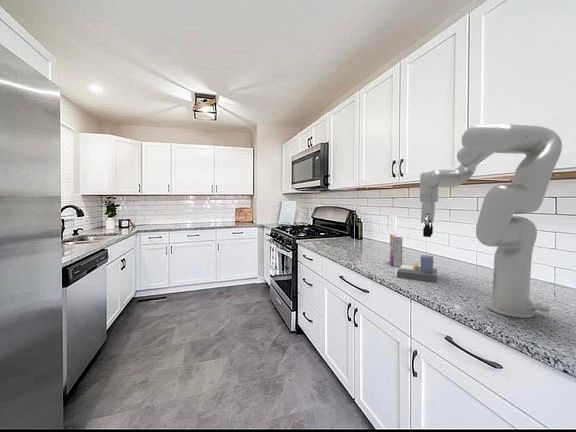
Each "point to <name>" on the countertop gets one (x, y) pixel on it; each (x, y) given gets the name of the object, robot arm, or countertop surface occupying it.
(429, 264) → the plug
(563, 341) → the countertop surface
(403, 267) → the shutter
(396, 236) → the candy bar box
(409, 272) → the socket
